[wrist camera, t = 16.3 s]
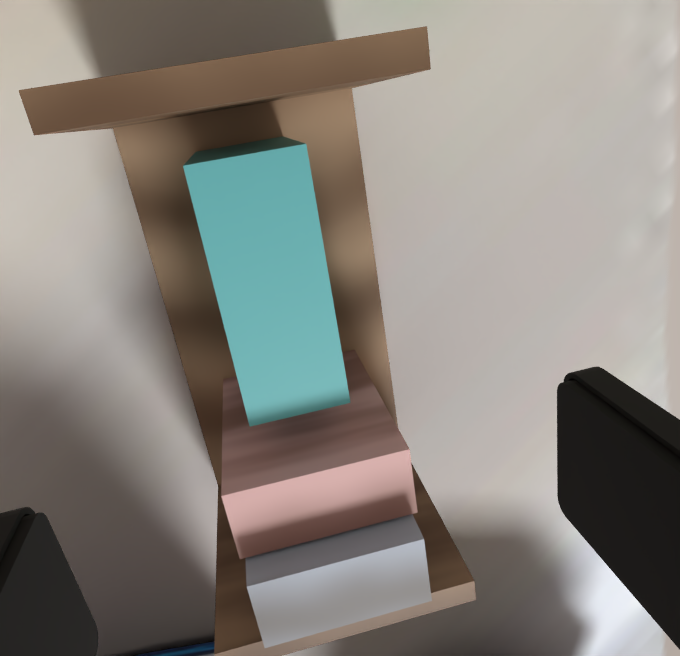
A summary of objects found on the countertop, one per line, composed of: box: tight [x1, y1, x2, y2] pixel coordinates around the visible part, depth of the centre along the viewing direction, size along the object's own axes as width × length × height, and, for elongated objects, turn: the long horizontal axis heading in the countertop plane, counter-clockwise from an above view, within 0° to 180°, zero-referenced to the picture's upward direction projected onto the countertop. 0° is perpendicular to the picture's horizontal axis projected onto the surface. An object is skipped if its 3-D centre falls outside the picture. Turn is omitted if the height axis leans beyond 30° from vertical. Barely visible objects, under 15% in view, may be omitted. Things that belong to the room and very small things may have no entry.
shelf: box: [19, 26, 476, 656], centre depth 27 cm, size 24×12×14 cm, turn 9°
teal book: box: [183, 136, 351, 427], centre depth 26 cm, size 11×4×9 cm, turn 9°
